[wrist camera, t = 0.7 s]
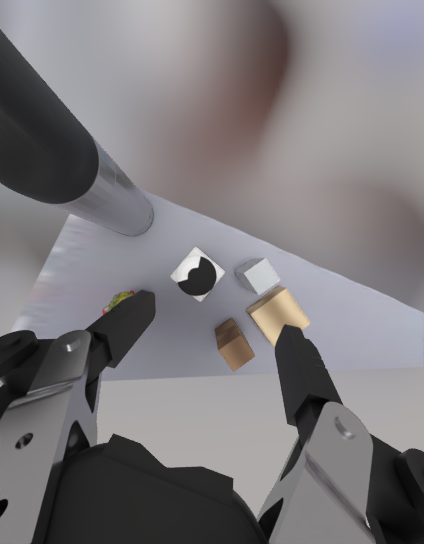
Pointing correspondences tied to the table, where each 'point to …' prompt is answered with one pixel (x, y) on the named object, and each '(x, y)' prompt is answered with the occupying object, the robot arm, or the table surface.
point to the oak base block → (277, 313)
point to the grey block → (257, 275)
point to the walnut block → (233, 345)
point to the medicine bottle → (197, 274)
